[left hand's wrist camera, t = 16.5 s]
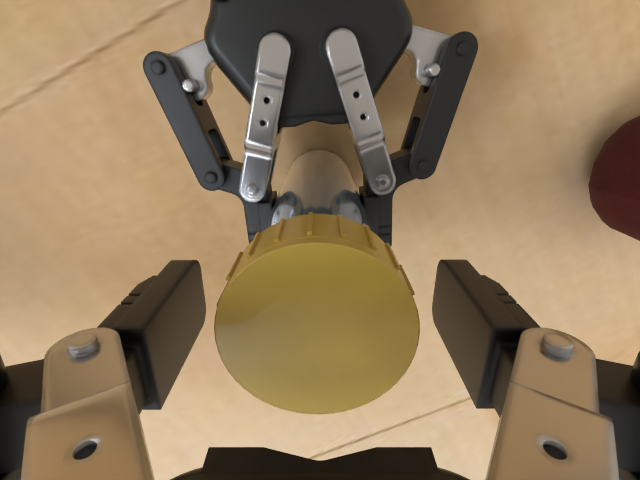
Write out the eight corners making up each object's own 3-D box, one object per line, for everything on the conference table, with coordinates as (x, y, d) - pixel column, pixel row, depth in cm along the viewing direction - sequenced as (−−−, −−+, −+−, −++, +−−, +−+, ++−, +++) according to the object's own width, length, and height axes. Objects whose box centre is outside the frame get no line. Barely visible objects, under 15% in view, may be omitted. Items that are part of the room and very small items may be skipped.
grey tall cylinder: (360, 199, 25) (422, 359, 10) (302, 223, 25) (276, 406, 10) (337, 139, 23) (368, 217, 8) (275, 165, 24) (201, 281, 9)
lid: (418, 219, 10) (443, 250, 8) (388, 367, 12) (402, 422, 10) (231, 203, 10) (209, 231, 8) (231, 356, 12) (213, 409, 10)
